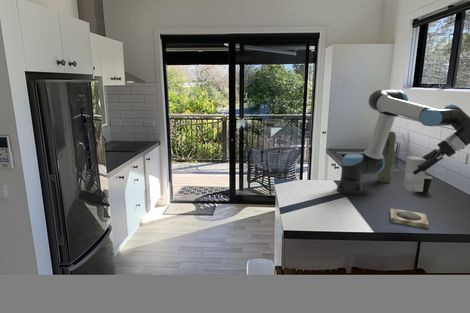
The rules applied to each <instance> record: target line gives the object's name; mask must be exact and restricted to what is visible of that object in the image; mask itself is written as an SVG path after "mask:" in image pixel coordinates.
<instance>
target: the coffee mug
mask: <svg viewBox="0 0 470 313" xmlns="http://www.w3.org/2000/svg"><path fill="white" fill-rule="evenodd" d="M432 180H433V176H429V175H427V174H426V175H425V177H424V185H423V192H418V193H419V194H426V195H427V194H428V193H429V190H430V187H431V183H432Z"/></svg>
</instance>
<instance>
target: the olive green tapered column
mask: <svg viewBox="0 0 470 313" xmlns="http://www.w3.org/2000/svg"><path fill="white" fill-rule="evenodd" d="M396 139H397V134H396V132H395V131H390V132H389V135H388V138H387V140H386V143H385V146H384V149H383V151H382V155H383V158H384V162H385V165H384V168H383V170H382V171H381V172H379V173H377V182H380V183H382V184H391V183H392V180H393V165H394V159H395V155H396V146H395V145H396V142H397V141H396Z"/></svg>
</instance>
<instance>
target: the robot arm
mask: <svg viewBox="0 0 470 313" xmlns="http://www.w3.org/2000/svg"><path fill="white" fill-rule="evenodd" d="M368 106H369V107H370V109H372V110H373V111H377V113H378V117H377V120H376V123H375V125H374V129H373V132H372V135H371V138H370V141H369V144H368V147H367V149H365V150H364V151H363V153H362V154H361V153H348V154H345V155H344V156H343V157H342V161H341V175H340V180H339V182H338V184H337V186H336V191H337V190H338V191H337V192H339V193H341V192H342V193H341V194H344V193H345V194H344V195H349V194H350V196H352V195H353V196H356V195H357V196H358V195H362V194H363V191H364V190H363V185H362V181H361V180H362V175H374V174H378V173H379V172H381V171H382V170H383V168H384V165H385V162H384V158H383V155H382V151H383V149H384V146H385V143H386V140H387V138H388V135H389V132H391V130H392V126H393V123H394V122H395V119H396V118H397V117H399V116H400V117H403V118H406V119H409V120H413V121H417V122H418V123H421V124H422V125H423V126H425V127H444V126H445V127H447V126H448V127H449V126H451V127H452V128H453V129H454V130H455V132H453V133H452V134H450V135H449V136H447V137H446V138H445V140H444V139H443V140H442V141H440V142H439V143H437V146H438V149H436V148H434V149H433V150H432V151H430V152H429V153H427V154H425V155H424V156H422V157H421V158H423V159H425V160H426V161H425V162H424V163H423V164H422V165H420V166H419V165H418V166H417V167H416V168H415V169H413V170H412V171H410V172H409V173H407V174H406V176H407V178H408V179H409V180H410V179H411V178H413V177H414V176H416V175H417V174H419V173H420V172H422V171H425V172H426V171H427V170H429V169H430V168H431V167H433V166H434V165H435V164H437V163H438V162H439V161H441V160H443V159H444V156H447V157H448V158H449V157H452V156H453V155H454V154H456V152H459V151H461V150H465V148H466V147H467V146H469V145H470V116H469V115H468V114H467V113H466V112H465V111H464V110H463V109H462V108H461V107H459V105H458V106H457V105H456V104H453V103H452V104H449V105H445V107H443V108H442V109H441V108H440V109H439V108H435V107H430V106H427V105H422V104H420V103H419V104H418V103H415V102H411V101H409V98H408V96H407V94H406V92H405V91H402V90H399V89H378V90H375V91H374V92H372V93H371V94H370V95H369V97H368ZM404 172H405V169H404Z"/></svg>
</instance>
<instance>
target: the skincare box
mask: <svg viewBox="0 0 470 313" xmlns="http://www.w3.org/2000/svg"><path fill="white" fill-rule="evenodd" d="M425 161H426V160H425V159H423V158H422V157H421V156H406V159H405V169H404V170H405V171H404V181H403V187H404V188H405V189H406V190H408V191H409V192H416V193H419V192H423V185H424V177H425V174H426V171H422V172H420V173H419V174H417V175H416V176H414V177H413V178H411V179H410V180H409V179H408V178H407V176H406V174H407V173H409V172H410V171H412V170H413V169H415V168H416V167H417V166H418V165H419V166H420V165H422V164H423V163H424V162H425Z"/></svg>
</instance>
